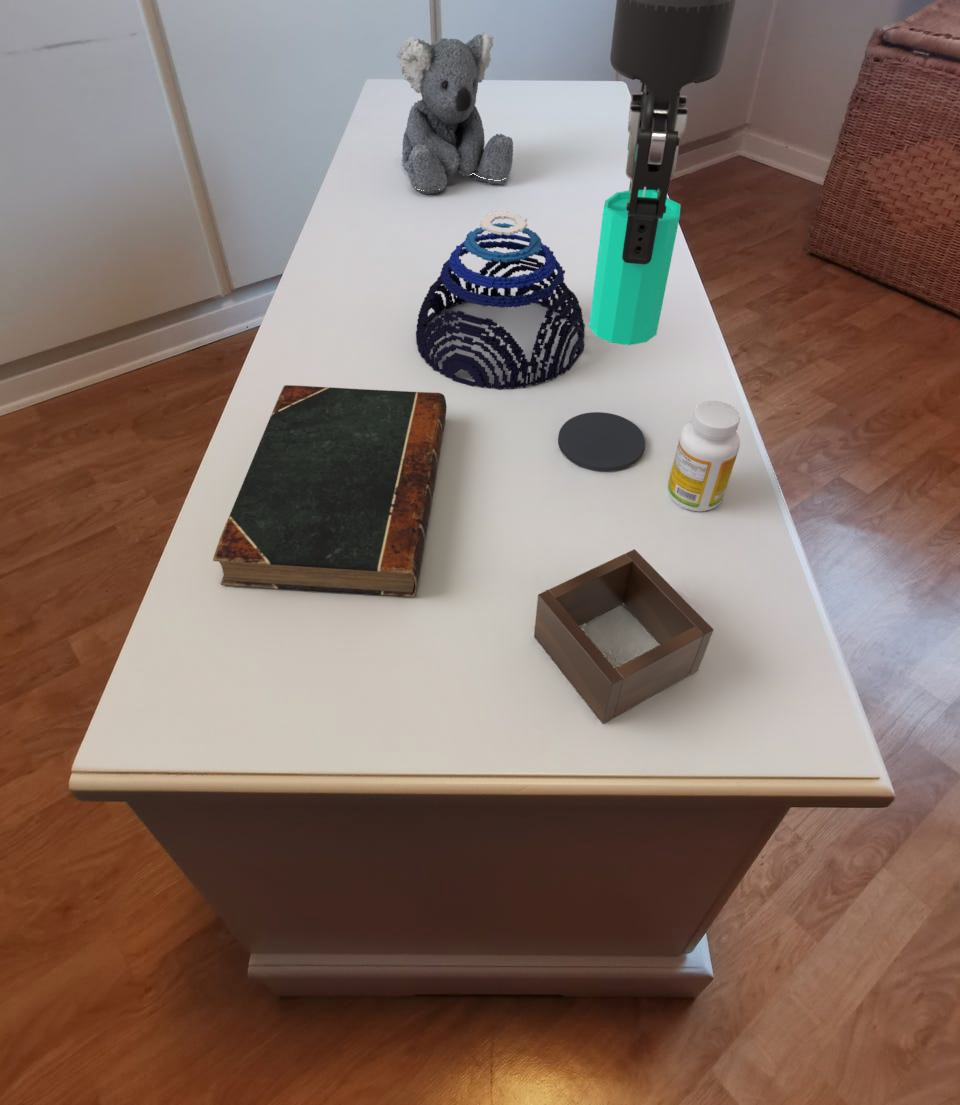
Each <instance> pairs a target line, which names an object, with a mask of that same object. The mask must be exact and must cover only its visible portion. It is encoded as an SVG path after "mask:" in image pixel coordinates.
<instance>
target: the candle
mask: <svg viewBox="0 0 960 1105" xmlns="http://www.w3.org/2000/svg"><path fill="white" fill-rule="evenodd" d="M629 196H630V190H629V189H628V190H623V191H618V192H615V193H614V194H612V195H611V196H610V197H608V198H607V199H606V200H605V201H604V203H603V208H602V209H603V210H602V218H601V226H600V235H599V241H598V242H599V243H598V249H597V250H598V251H597V259H596V267H595V275H594V281H593V282H594V284H593V285H594V286H593V291H592V298H591V308H590V316H589V324H588V328H589V329H590V330H591V331H592V333H593V334H594V335H595V336H596V337H597V338H599V339H601V340H604V341H606V342H608V343H610V344H615V345H626V346H632V345H638V344H644V343H647V342H648V341H650V340H652V338H654V337H655V336H657V333H658V329H659V323H660V319H661V314H662V310H663V309H662V308H663V304H664V298H665V293H666V288H667V283H668V278H669V273H670V267H671V263H672V257H673V252H674V248H675V243H676V242H675V241H676V237H677V232H678V227H679V222H680V216H681V208H682V207H681V206H682V205H681V204H680V203H679V202H677V201H674V200H673V199H670V198H669V197H667V198H666V203H665V206H666V213H664V214H663V218H662V219H658V225H657V230H656V236H655V241H654V247H653V253H652V258H651V261H650V262H649V263H648V264H634V263H626V262H624V261H623V259H622V254H623V246H624V240H625V233H626V226H627V219H628V214H627V211H626V204H627V201H628V202H629ZM638 197H647V198H657V191H656V190H646V187H644V190H639V191H638Z"/></svg>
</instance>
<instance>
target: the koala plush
mask: <svg viewBox="0 0 960 1105" xmlns="http://www.w3.org/2000/svg"><path fill="white" fill-rule="evenodd" d="M493 40H494V37H493V36H492V35H489V34H486V33H485V32H484V31H482V33H480V34H476V35H474V36H473V38H471V39H469V40H468V41H467V42H466V43H465V42H463V41H462V40H460V39H458V38H450V39H449V38H447V37H446V38H444V37H442V38H440V39H438V40H435V41H434V42H432V43H431V44H430V43H428V42H426V41H425V40H421V39H420V38H417V39H415V37H414V36H409V38H406V39H405V41H404V42H403V43H402V45H401V46H399V49H400V50H398V53H397V54H396V57H397V58H398V59H399V60H401V61H400V62H399V63H400V64H399V69H400V71H401V75H402V77H403V78H404V79H403V80H404V81H406V82H408V83H409V84H410V89H413V90H414V92H415V93H417V94H420V95H421V99H420V100H417V102H414V103H413V105H412V106H411V107H410V110H409V114H408V117H407V120H406V121H407V122H406V127H405V131H404V132H403V135H402V136H403V137H402V152H401V154H402V157H401V162H403V164H404V166H403V170H404V171H405V172H406V171H407V170H408V171H407V173H408V177H409V181H410V185H411V187H412V188H414V190H415V191H418V192H419V193H422V194H425V195H431V194H435V195H436V194H439V193H440V192H443V191H444V190H445V188H446V187H447V184H448V177H447V176H448V175H449V176H452V175H453V174H455V173H457V172H458V174H459V175H460V176H463V175H464V176H463V177H465V176H466V175H470V174H472V173H475V174H476V175H478V176H480V177H484V178H486V179H483V178H480V177H478V176H476V175H474V174H472V175H470V176H466V177H469V178H471V179H473V180H476V181H479V182H484V183H488V184H489V185H491V184H493V185H500V184H504V183H506V181H507V179H508V178H509V175H510V174H511V173H510V172H511V171H512V167H513V161H514V160H513V158H514V153H513V152H514V141H513V138H512V137H511V136H506V135H505V134H503V133H499V134H498V133H496V134H495V135H492V137H490V138H489V140H488V141H487V142H486V144H485V130H484V124H483V121H482V118H481V115H480V112H479V110H478V108H477V106H476V103H477V93H478V90H479V88H478V87H479V83H482V82H483V80H485V73H486V71H487V69H488V68H489V67H490V64H491V51H492V48H493V47H494V43H493V42H494V41H493ZM403 164H402V165H403ZM504 178H506V179H504ZM488 179H493V180H488ZM502 179H504V180H502ZM494 180H501V181H494ZM415 187H416V188H415ZM417 189H420V190H417ZM439 189H440V190H439ZM421 190H422V191H421ZM423 190H424V191H423Z"/></svg>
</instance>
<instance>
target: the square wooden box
mask: <svg viewBox="0 0 960 1105" xmlns="http://www.w3.org/2000/svg"><path fill="white" fill-rule="evenodd" d="M621 605H624V606H625V608H626V609H627V610H628V611H629V612H630V613H631V614H632V615H633V616H634V618H636V620H637V621H638V622H639V623H640V624H641V625H642V626H643V627H644V629H645V630H646V631H647V632H648V633H650V635H651V637H653V638H654V640H655V641H657V643H658V644H659V645H657V646H655V647H653V648H651V649H650V650H647V651H645V652H644V653H642V654H640V655H638V656H636V657H634V658H632V659H630V660H629V661H627V662H625V663H623V664H621V665H620V666H617V667H614V666H613V664H612V663H611V662H610V661H609V660H608V659H607V657H606V656H605V655H604V654H603V653H602V651H600V649H599V648H598V647H597V646H596V645H595V643H594V642H593V641H592V639H591V638H590V637H589V636H588V634H586V633H585V631H584V630H583V629H582V627H581V625H583V624H585V623H587V622H589V621H591V620H593V619H595V618H597V617H598V616H601V615H603V614H605V613H608V612H609V611H612V610H613V609H616V608H617V607H619V606H621ZM713 632H714V628H713V627H712V626H711V625H710V624H709V623H708V622H707V621H706V620H705V619H704V618H703V617H702V616H701V615H700V614H699V613H698V612H697V611H696V610H695V609H694V608H693V607H692V606H691V605H690V603H688V601H687V600H685V599H684V598H683V597H682V596H681V594H680V593H679V592H678V591H676V589H674V587H673V586H671V584H669V582H668V581H667V580H666V579H664V577H662V575H661V574H659V572H658V571H657V570H656V569H655V568H654V567H653V566H652V565H651V563H649V562H648V561H647V560H646V558H644V557H643V556H642V555H641V554H640V553H639V552H638V551H637V550H636V549H635V548H634V549H631V550H630V551H627V552H625V553H623V554H622V555H619V556H617V557H615V558H612V559H611V560H609V561H607V562H604V563H602V564H600V565H598V566H596V567H593V568H591V569H589V570H587V571H585V572H583V573H580V574H579V575H575V576H574V577H572V578H570V579H568V580H565V581H564V582H562V583H560V584H557V585H555V586H553V587H551V588H549V589H546V590H545V591H543V592H541V593H538V595H537V601H536V612H535V622H534V634H533V637H534V638H535V640H536V641H537V642H538V644H539V645H540V646H541V647H542V648H543V650H544V652H545V653H547V655H548V656H549V657H550V659H551V660H552V662H554V664H555V665H556V667H557V668H558V669H559V670H560V671H561V673H562V674H563V675H564V677H565V678H566V680H568V682H569V683H570V685H571V686H572V687H573V688H574V690H576V692H577V693H578V695H579V696H580V697H581V698H582V700H583V701H584V703H586V705H587V706H588V707H589V708H590V710H591V711H592V712H593V714H594V715H595V716H596V717H597V719H598V720H599V721H600V722H601V724H603V725H604V724H605V723H607V722H609V721H611V720H613V719H614V718H616V717H618V716H620V715H622V714H624V713H625V712H627V711H628V710H630V709H632V708H634V707H636V706H637V705H639V704H641V703H643V702H644V701H646V700H649V699H650V698H652V697H654V696H656V695H657V694H659V693H661V692H663V691H665V690H666V689H668V688H669V687H671V686H673V685H675V684H677V683H679V682H681V681H682V680H684V679H686V678H688V677H689V676H691V675H693V674H695V673H697V672H698V671H699V669H700V668H701V665H702V661H703V659H704V656H705V654H706V651H707V649H708V646H709V643H710V641H711V638H712V636H713V634H714V633H713Z"/></svg>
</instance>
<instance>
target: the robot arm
mask: <svg viewBox="0 0 960 1105" xmlns="http://www.w3.org/2000/svg"><path fill="white" fill-rule="evenodd" d="M736 2H737V0H616V3H615V11H614V21H613V29H612V37H611V47H610V56H609V59H610V60H609V62H610V65H611V68H613V70H614V71H615V72H616V73H617V74H619V75H620V76H622V77H624V78H626V79H629V80H632V81H634V80H638V81H639V83H640V84H641V87H640V92H631V97H630V103H629V111H628V123H627V132H628V141H627V157H626V158H627V160H626V167H625V176H626V178H627V179H629V180H630V181H629V186H628V187H629V188H628V191H629V190H630V196H629V202H628V201H627V204H626V211H627V214H628V219H627V226H626V233H625V240H624V246H623V254H622V259H623V261H624V262H626V263H634V264H648V263H649V262H650V261H651V258H652V253H653V247H654V241H655V236H656V230H657V225H658V219H662V218H663V214H664V213H666V206H665V203H666V198H668V194H669V193H668V192H669V187H670V182H671V180H672V179H674V177H675V175H676V171H677V170H676V168H677V163H678V157H679V151H680V150H679V148H680V142H681V137H682V136H683V135H684V134H685V132H686V128H687V121H688V115H689V108H687V103H688V95H681V90H682V88H683V87H685V86H687V85H689V84H693V83H694V84H701V83H704V82H707V81H709V80H711V79H713V78H714V77H716V76H717V75H718V74H719V73H720V71H721V70H722V68H723V64H724V59H725V55H726V50H727V46H728V45H727V44H728V41H729V36H730V31H731V26H732V21H733V16H734V11H735V7H736ZM644 187H646V190H656V191H657V198H647V197H638V191H639V190H644Z"/></svg>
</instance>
